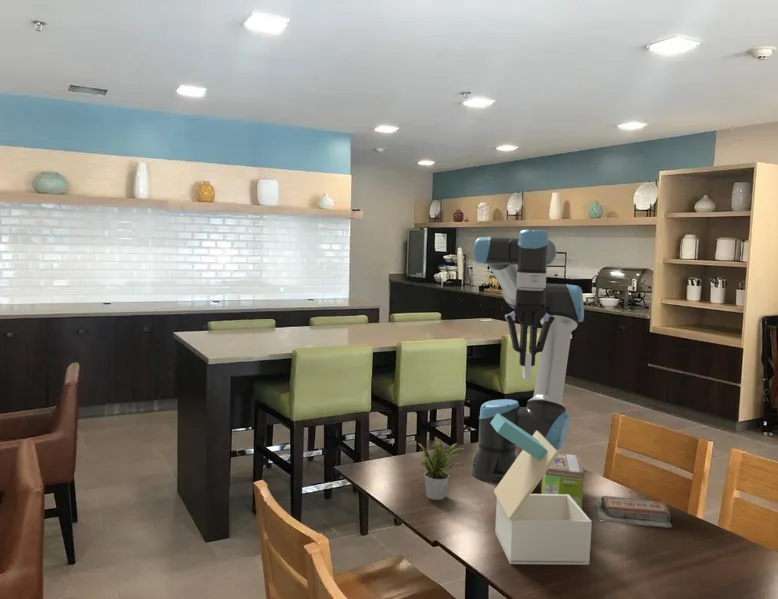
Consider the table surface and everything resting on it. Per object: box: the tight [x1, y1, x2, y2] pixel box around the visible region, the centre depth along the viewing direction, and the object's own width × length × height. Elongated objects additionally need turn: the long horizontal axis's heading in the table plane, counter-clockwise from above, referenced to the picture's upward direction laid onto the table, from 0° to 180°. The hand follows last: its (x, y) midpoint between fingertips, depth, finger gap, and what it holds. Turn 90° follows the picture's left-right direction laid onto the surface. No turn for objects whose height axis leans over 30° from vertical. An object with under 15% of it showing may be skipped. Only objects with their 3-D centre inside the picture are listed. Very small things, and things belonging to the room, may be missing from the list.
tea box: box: [540, 453, 585, 510], centre depth 175 cm, size 15×10×15 cm
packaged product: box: [595, 495, 673, 529], centre depth 175 cm, size 18×5×10 cm
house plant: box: [417, 438, 465, 501], centre depth 184 cm, size 14×14×16 cm
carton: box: [494, 493, 593, 566], centre depth 155 cm, size 18×16×10 cm
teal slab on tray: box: [490, 413, 560, 520], centre depth 153 cm, size 18×16×13 cm
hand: (526, 377), depth 174 cm, fingers closed
